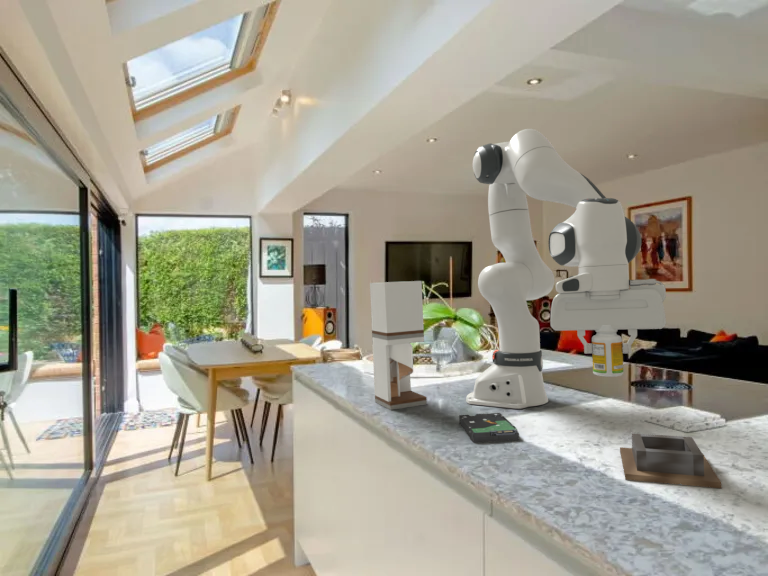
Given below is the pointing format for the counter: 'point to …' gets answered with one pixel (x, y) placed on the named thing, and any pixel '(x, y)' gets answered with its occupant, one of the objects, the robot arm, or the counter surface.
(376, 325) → the white tower
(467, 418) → the disk drive
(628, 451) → the socket board
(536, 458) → the counter surface
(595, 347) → the supplement bottle
